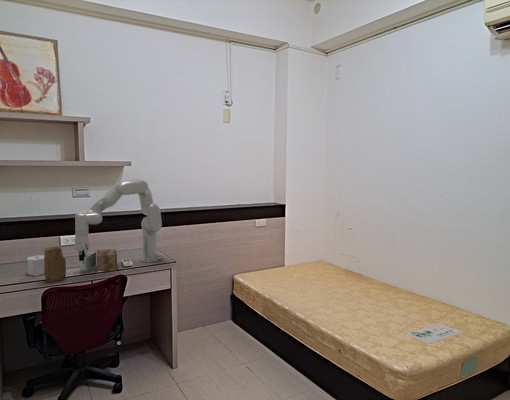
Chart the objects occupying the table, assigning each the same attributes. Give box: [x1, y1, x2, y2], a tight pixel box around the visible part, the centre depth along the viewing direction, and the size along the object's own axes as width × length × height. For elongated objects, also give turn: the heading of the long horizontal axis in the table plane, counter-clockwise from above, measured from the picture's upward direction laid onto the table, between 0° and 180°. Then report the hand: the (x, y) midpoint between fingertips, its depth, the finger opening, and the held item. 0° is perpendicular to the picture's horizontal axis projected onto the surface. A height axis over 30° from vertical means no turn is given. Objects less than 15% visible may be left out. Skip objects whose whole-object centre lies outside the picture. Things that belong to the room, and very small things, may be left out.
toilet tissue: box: [26, 254, 45, 277], centre depth 234 cm, size 11×12×10 cm
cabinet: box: [96, 248, 118, 272], centre depth 248 cm, size 12×14×11 cm
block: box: [43, 245, 67, 283], centre depth 223 cm, size 11×8×20 cm
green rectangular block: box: [82, 250, 97, 272], centre depth 245 cm, size 3×14×10 cm, turn 177°
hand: (82, 260), depth 240 cm, fingers closed
